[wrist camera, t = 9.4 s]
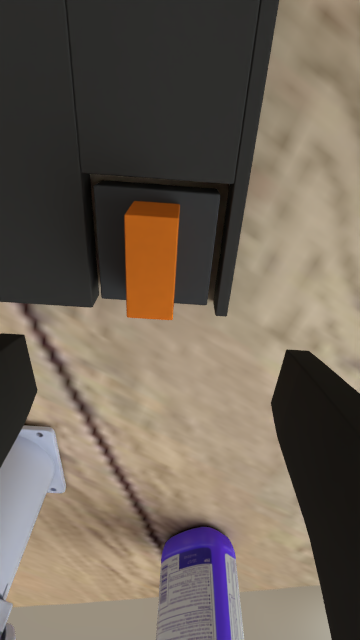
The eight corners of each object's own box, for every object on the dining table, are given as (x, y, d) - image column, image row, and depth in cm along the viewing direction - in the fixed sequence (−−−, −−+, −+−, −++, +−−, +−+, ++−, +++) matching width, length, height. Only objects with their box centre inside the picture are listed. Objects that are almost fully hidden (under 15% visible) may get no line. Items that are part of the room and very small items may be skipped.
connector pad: (107, 286, 17) (88, 324, 14) (101, 180, 15) (75, 196, 11) (205, 292, 18) (210, 332, 14) (217, 188, 15) (227, 207, 11)
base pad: (-64, 284, 18) (-84, 296, 16) (-209, -110, 10) (-265, -144, 9) (223, 303, 18) (226, 316, 17) (281, -66, 11) (294, -93, 9)
